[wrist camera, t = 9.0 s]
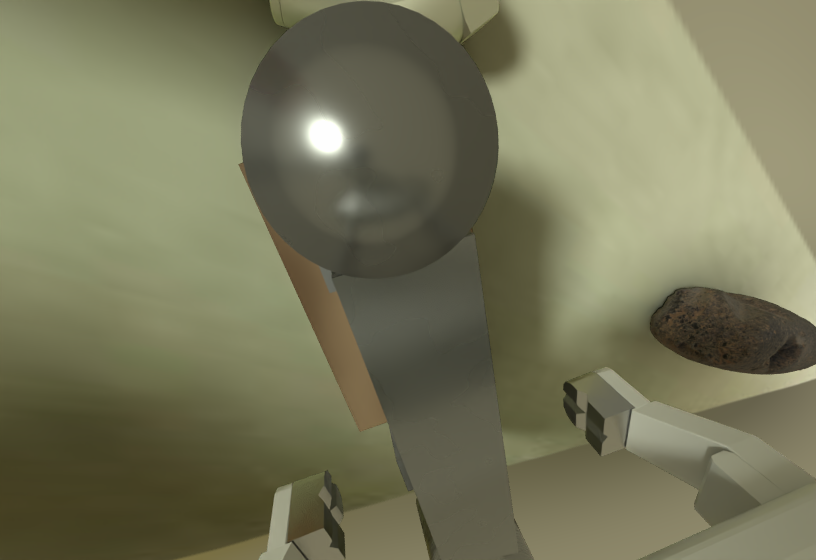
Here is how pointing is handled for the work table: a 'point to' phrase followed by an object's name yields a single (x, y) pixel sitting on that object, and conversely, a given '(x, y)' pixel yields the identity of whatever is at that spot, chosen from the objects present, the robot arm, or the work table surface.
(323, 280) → the peg stand
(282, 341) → the work table surface
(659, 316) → the perforated stone tool
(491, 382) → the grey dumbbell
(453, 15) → the pipe fitting
